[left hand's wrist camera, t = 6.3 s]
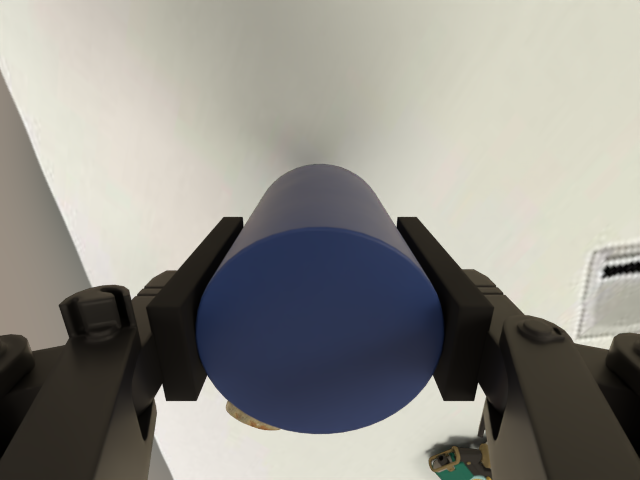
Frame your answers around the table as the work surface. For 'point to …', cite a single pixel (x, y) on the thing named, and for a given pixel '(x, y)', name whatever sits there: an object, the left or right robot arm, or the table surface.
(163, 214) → the table surface
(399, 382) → the can
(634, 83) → the table surface
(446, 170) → the table surface
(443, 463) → the spray gun
